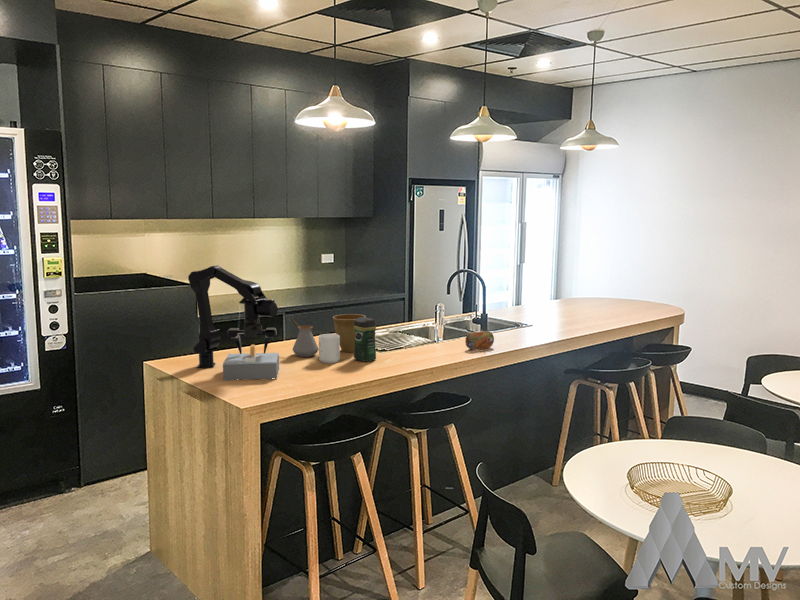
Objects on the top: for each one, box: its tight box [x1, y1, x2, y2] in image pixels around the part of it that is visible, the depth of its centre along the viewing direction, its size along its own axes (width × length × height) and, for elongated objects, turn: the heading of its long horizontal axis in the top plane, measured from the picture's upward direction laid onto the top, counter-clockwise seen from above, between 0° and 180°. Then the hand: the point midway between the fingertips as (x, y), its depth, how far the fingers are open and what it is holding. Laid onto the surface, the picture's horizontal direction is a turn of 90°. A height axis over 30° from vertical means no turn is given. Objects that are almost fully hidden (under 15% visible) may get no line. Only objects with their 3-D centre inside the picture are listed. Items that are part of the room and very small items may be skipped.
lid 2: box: [222, 357, 277, 366], centre depth 251 cm, size 8×20×2 cm, turn 97°
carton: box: [222, 355, 280, 381], centre depth 255 cm, size 16×20×6 cm
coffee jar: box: [353, 317, 377, 362], centre depth 281 cm, size 10×8×19 cm
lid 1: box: [226, 344, 280, 359], centre depth 258 cm, size 8×20×5 cm, turn 97°
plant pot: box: [332, 313, 367, 353], centre depth 298 cm, size 15×15×16 cm
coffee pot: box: [287, 317, 319, 358], centre depth 292 cm, size 21×12×15 cm, turn 34°
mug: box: [318, 333, 341, 364], centre depth 279 cm, size 12×9×11 cm
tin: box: [464, 330, 495, 351], centre depth 305 cm, size 15×3×8 cm, turn 118°
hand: (252, 353), depth 258 cm, fingers open, 9 cm apart
